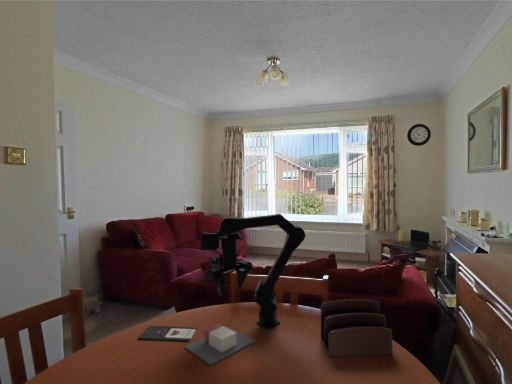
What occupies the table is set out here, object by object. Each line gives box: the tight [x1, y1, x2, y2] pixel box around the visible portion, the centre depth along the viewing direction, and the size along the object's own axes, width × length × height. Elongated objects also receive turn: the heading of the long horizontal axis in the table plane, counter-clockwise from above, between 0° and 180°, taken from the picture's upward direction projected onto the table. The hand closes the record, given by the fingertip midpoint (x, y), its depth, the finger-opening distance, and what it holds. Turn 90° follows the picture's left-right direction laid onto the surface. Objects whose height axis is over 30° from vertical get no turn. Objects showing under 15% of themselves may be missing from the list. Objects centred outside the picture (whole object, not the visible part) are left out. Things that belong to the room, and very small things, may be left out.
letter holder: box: [320, 298, 394, 358], centre depth 98 cm, size 10×20×14 cm, turn 92°
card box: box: [204, 323, 236, 352], centre depth 100 cm, size 9×6×4 cm, turn 45°
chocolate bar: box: [137, 325, 198, 343], centre depth 108 cm, size 9×1×18 cm
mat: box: [184, 326, 256, 367], centre depth 100 cm, size 18×14×1 cm
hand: (230, 292), depth 115 cm, fingers open, 9 cm apart
